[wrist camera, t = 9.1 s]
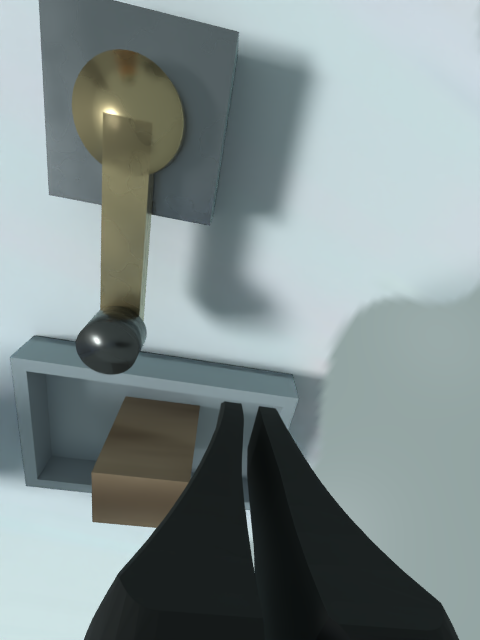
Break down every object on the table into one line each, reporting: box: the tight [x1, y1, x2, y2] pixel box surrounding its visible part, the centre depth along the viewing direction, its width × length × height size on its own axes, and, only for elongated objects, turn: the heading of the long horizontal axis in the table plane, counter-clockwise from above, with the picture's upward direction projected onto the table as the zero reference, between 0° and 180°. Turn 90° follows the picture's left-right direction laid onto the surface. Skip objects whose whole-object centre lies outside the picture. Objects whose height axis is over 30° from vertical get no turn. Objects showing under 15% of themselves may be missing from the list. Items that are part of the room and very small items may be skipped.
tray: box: [10, 336, 299, 510], centre depth 23 cm, size 11×17×2 cm, turn 79°
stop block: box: [91, 396, 200, 528], centre depth 21 cm, size 4×5×6 cm
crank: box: [72, 49, 186, 375], centre depth 14 cm, size 12×4×3 cm, turn 169°
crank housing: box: [39, 0, 239, 226], centre depth 14 cm, size 7×14×3 cm, turn 79°
